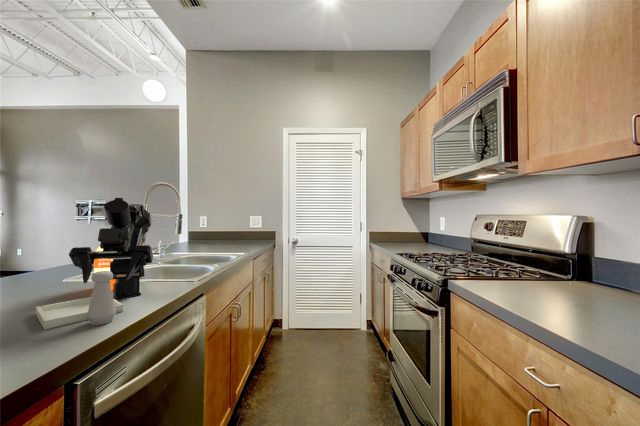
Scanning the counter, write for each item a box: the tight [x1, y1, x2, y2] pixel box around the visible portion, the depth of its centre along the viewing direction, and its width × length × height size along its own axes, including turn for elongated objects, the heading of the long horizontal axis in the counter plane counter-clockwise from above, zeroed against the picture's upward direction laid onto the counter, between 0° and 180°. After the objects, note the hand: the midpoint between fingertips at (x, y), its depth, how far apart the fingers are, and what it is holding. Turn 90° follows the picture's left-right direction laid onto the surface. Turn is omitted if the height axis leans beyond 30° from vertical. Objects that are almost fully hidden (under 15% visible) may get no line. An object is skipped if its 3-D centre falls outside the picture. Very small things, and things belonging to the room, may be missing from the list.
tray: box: [35, 296, 124, 330], centre depth 77 cm, size 16×16×2 cm
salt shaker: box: [87, 271, 117, 326], centre depth 71 cm, size 6×6×13 cm
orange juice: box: [93, 245, 115, 290], centre depth 103 cm, size 8×9×20 cm
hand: (106, 280), depth 73 cm, fingers open, 9 cm apart
